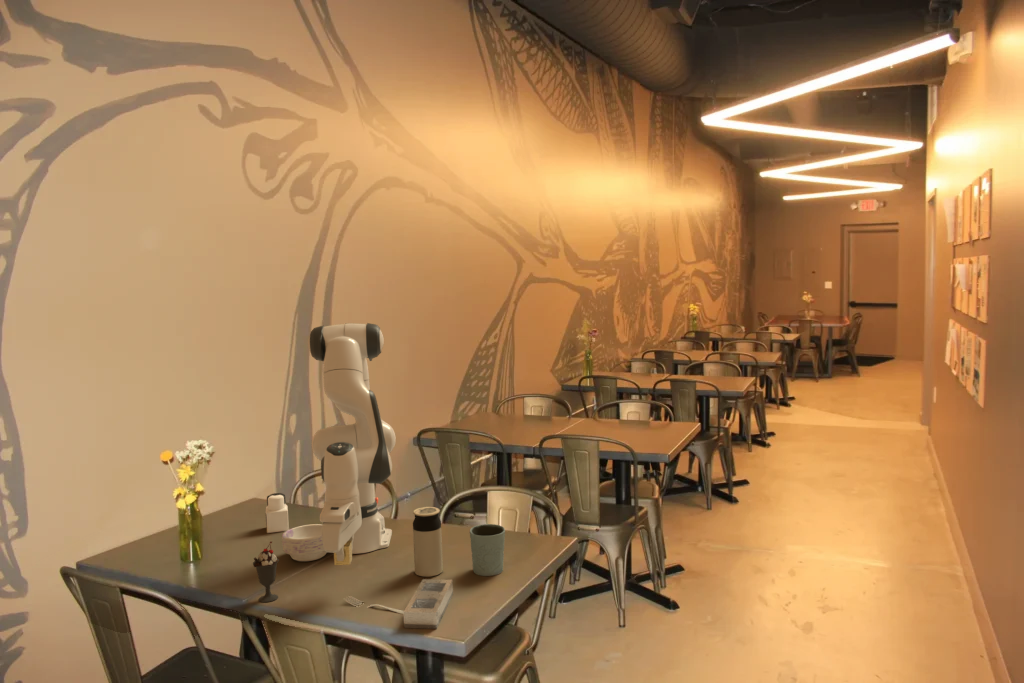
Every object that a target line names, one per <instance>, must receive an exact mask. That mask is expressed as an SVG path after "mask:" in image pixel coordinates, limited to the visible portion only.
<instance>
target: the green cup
mask: <svg viewBox="0 0 1024 683" xmlns="http://www.w3.org/2000/svg"><path fill="white" fill-rule="evenodd" d="M505 537H506V529H505V527H504V526H502V525H500V524H495V523H484V524H478V525H474V526H472V527H471V528H470V529H469V538H470V550H471V558H472V559H471V561H472V570H473V573H474V574H476V575H477V576H481V577H491V576H492V577H493V576H496V575H500V574H501V573H503V572H504V560H505V559H504V556H505V553H504V552H505Z"/></svg>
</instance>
